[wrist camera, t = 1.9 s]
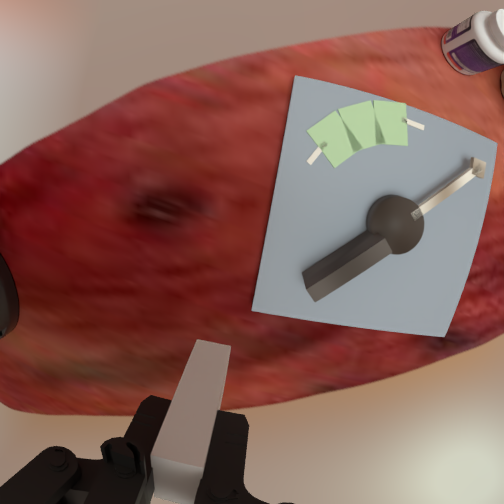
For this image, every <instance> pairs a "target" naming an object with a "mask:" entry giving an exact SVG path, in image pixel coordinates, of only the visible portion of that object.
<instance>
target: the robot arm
mask: <svg viewBox="0 0 504 504" xmlns="http://www.w3.org/2000/svg"><path fill="white" fill-rule="evenodd" d="M18 315H19V304H18V297H17V292H16V288H15V284H14V281H13V279H12V276H11V273H10V271H9V269H8V267H7V265H6V263H5V261H4V260H3V258H2V256H1V255H0V339H1V338H3V337H4V336H6V335H7V334H8V333H9V332H11V331H12V330H13V329H14V328H15V326H16V324H17V320H18ZM230 350H231V346H228V345H223V344H218V343H213V342H208V341H203V340H198V339H197V341H196V343H195V346H194V348H193V350H192V353H191V355H190V358H189V360H188V363H187V365H186V367H185V370H184V372H183V375H182V377H181V380H180V382H179V385H178V387H177V390H176V392H175V395H174V397H173V399H172V400H168V399H164V398H160V397H156V396H153V395H150V396H149V397H148V398H146V399H145V400H143V401H142V402H141V404H140V406H139V408H138V410H137V411H136V414H135V415H134V417H133V419H132V422H131V423H130V426H129V427H128V429H127V431H126V433H125V435H124V437H116V438H111V439H109V440H107V441H105V442H104V443H103V444H102V445H101V446H100V448H101V452H102V455H103V459H100V460H91V459H83V458H76V456H75V454H74V453H72V451H70V450H69V449H67V448H65V447H60V446H53V447H49V448H47V449H45V450H43V451H42V452H41V453H40V454H39V455H37V456H36V457H35V458H34V459H33V460H32V461H30V462H29V463H28V464H27V465H26V466H25V467H23V468H22V469H21V470H20V471H19V472H17V473H16V474H15V475H14V476H13V477H12V478H10V479H9V480H8V481H7V482H6V483H4V484H3V485H2V486H1V487H0V504H150V501H151V498H152V495H153V493H154V497H157V498H160V499H164V500H168V501H172V502H176V503H180V504H269V503H266V502H264V501H261V500H259V499H257V498H255V497H253V496H252V495H251V494H250V493H248V491H247V490H246V488H245V486H244V479H243V477H244V468H245V459H246V449H247V441H248V430H249V424H248V422H247V419H246V417H245V415H243V414H236V413H231V412H226V411H221V410H219V409H220V405H221V400H222V396H223V391H224V385H225V379H226V373H227V368H228V362H229V356H230ZM280 504H294V503H280Z"/></svg>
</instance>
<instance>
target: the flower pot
mask: <svg viewBox="0 0 504 504" xmlns="http://www.w3.org/2000/svg"><path fill="white" fill-rule="evenodd" d="M501 82H502V89H501V91H502V94H503V97H504V70H503V72H502V74H501Z"/></svg>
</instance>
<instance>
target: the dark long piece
mask: <svg viewBox="0 0 504 504" xmlns="http://www.w3.org/2000/svg"><path fill="white" fill-rule="evenodd" d="M485 168H486V162H484V161H482V160H479V159H477V158H475V157H471V160H470V167H469V168H468V169H467V170H466V171H464V172H463V173H462V174H460V175H459V176H458V177H456V178H455V179H454V180H452V181H451V182H449V183H448V184H447V185H445V186H444V187H443V188H441V189H440V190H438V191H437V192H436V193H434V194H433V195H432V196H430V197H429V198H427V199H426V200H425V201H423V202H422V203H420V204H419V205H417V204H416V203H415V202H413V201H412V200H410V199H407V198H404V197H401V196H398V195H386V196H383V197H381V198H379V199H378V200H376V201H375V202H374V203H373V205H372V206H371V208H370V209H369V211H368V214H367V219H366V227H367V230H366V231H365V232H363V233H362V234H360V235H359V236H357V237H356V238H354V239H353V240H351V241H350V242H348V243H347V244H345V245H344V246H342V247H340V248H339V249H337V250H336V251H334V252H333V253H331V254H330V255H328V256H327V257H325V258H324V259H322V260H321V261H319V262H317V263H316V264H314V265H313V266H311V267H310V268H308V269H307V270H305V271H303V272H302V276H303V280H304V284H305V288H306V290H307V292H308V293H309V295H310V296H311V298H312V299H313V301H314V302H317V301H319V300H320V299H322V298H323V297H325V296H327V295H328V294H330V293H331V292H333V291H335V290H336V289H338V288H339V287H341V286H343V285H344V284H346V283H347V282H349V281H350V280H352V279H353V278H355V277H356V276H358V275H360V274H361V273H363V272H364V271H366V270H367V269H369V268H370V267H372V266H373V265H375V264H376V263H378V262H379V261H381V260H382V259H384V258H385V257H386V256H388V255H389V254H394V255H400V254H404V253H407V252H409V251H410V250H412V249H413V248H414V247H415V246H416V245H417V244H418V243H419V241H420V240H421V237H422V235H423V232H424V217H423V215H424V214H425V213H427V212H428V211H429V210H431V209H432V208H434V207H435V206H436V205H438V204H439V203H440V202H442V201H443V200H444V199H446V198H447V197H449V196H450V195H451V194H453V193H454V192H455V191H457V190H458V189H459V188H461V187H462V186H463V185H465V184H466V183H467V182H468V181H470V180H471V179H472V178H474V177H475V176H476V177H478V178H482V179H484V174H485Z"/></svg>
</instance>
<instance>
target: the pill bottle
mask: <svg viewBox="0 0 504 504" xmlns="http://www.w3.org/2000/svg"><path fill="white" fill-rule="evenodd" d="M442 50H443V53H444V55H445V57H446V59H447V61H448V62H449V63H450V65H451V66H452V67H453V68H454V69H455V70H457V71H458V72H460V73H462V74H465V75H474V74H477V73H480V72H483V71H485V70H488V69H491V68H494V67H497V66H500V65H504V9H499V10H497V11H495V12H493V13H492V12H489V11H480V12H477V13H475V14H474V15H472V16H471V17H469V18H467V19H466V20H464V21H463V22H461V23H460V24H458V25H457V26H455V27H453V28H452V29H450V30H449V31H448V32H446V33H445V34H444V36H443V38H442Z"/></svg>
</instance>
